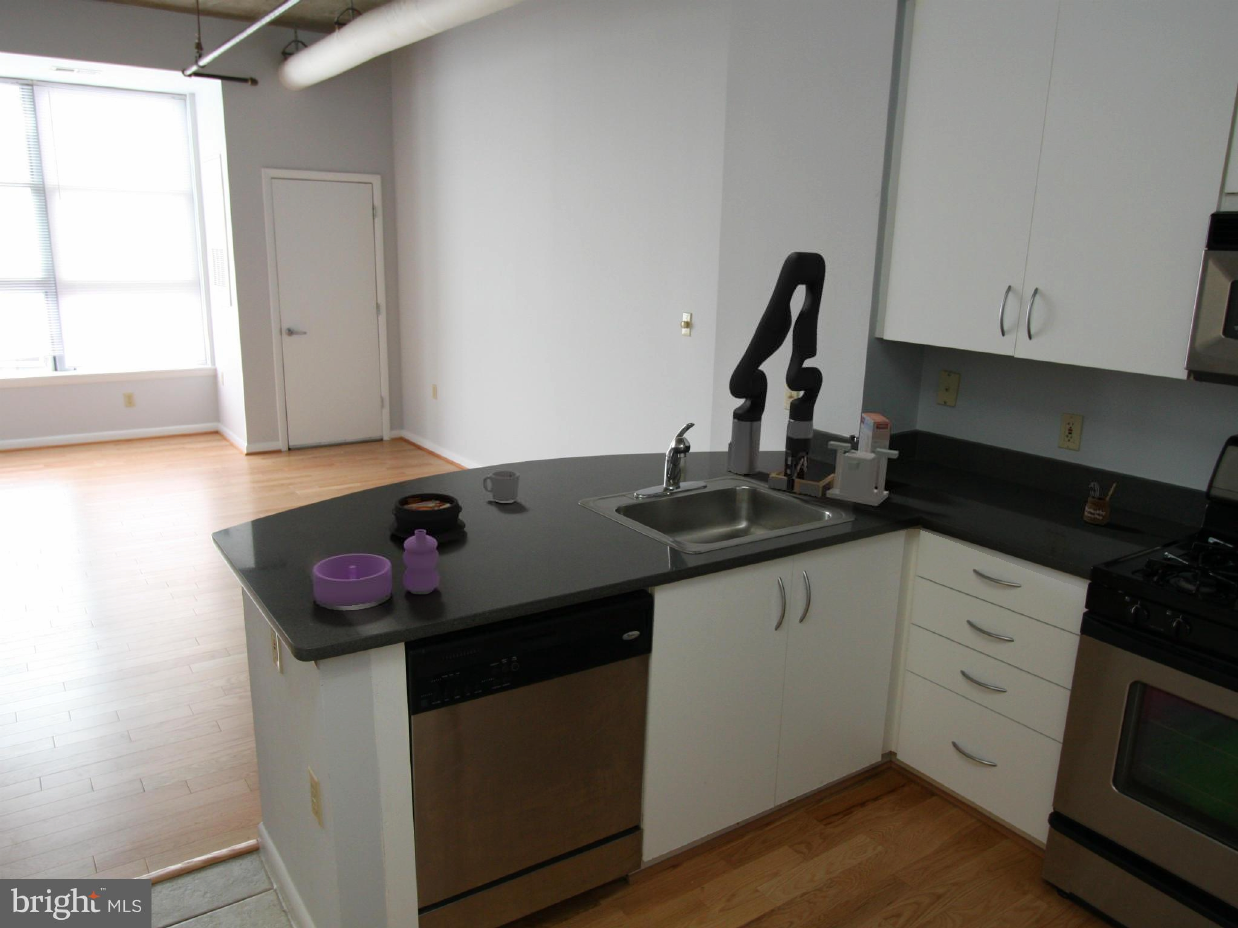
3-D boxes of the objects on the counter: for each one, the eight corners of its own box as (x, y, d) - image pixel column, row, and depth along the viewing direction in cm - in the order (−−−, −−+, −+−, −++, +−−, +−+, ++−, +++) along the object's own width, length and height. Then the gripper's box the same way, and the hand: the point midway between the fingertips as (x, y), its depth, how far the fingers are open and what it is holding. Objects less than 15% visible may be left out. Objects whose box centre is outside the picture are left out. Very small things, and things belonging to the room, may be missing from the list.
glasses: (767, 488, 270) (768, 475, 269) (785, 478, 282) (786, 465, 281) (818, 497, 262) (819, 484, 261) (834, 486, 274) (835, 474, 273)
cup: (476, 502, 247) (476, 474, 245) (490, 494, 254) (490, 467, 252) (510, 507, 243) (510, 479, 241) (524, 500, 250) (524, 472, 248)
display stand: (814, 497, 262) (819, 447, 258) (831, 486, 275) (835, 438, 271) (882, 510, 252) (888, 458, 248) (896, 497, 264) (902, 448, 261)
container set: (312, 614, 173) (309, 550, 170) (315, 584, 187) (312, 525, 184) (443, 603, 180) (442, 542, 177) (436, 576, 194) (435, 518, 191)
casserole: (378, 522, 227) (377, 491, 225) (450, 514, 235) (449, 484, 233) (402, 555, 206) (401, 520, 204) (479, 544, 214) (479, 511, 212)
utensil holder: (1087, 517, 252) (1094, 476, 249) (1111, 523, 247) (1119, 481, 244) (1079, 522, 248) (1087, 480, 244) (1104, 527, 243) (1111, 485, 240)
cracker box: (884, 488, 274) (892, 421, 269) (865, 487, 274) (872, 421, 269) (873, 476, 288) (880, 412, 283) (854, 475, 288) (861, 412, 283)
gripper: (796, 428, 271) (792, 480, 275) (778, 436, 259) (774, 490, 263) (820, 432, 267) (815, 484, 271) (803, 440, 255) (798, 494, 259)
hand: (795, 487), depth 267 cm, fingers open, 8 cm apart
